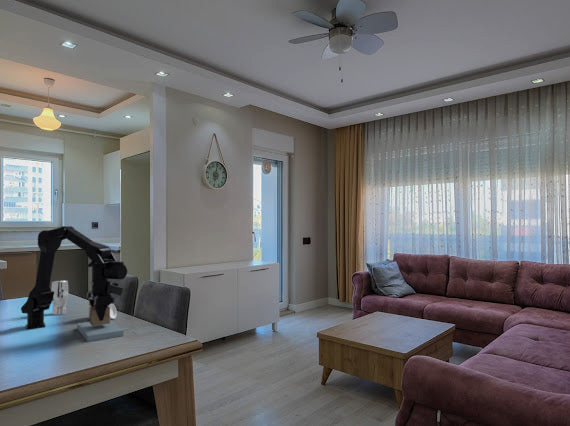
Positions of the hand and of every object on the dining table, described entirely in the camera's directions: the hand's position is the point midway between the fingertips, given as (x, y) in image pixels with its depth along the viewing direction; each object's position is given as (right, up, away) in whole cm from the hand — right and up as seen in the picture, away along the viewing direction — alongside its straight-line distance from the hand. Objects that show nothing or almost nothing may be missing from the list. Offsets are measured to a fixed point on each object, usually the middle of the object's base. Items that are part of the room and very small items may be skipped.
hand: (99, 319), depth 148 cm
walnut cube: (0, -2, 0) cm, 2 cm away
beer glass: (-34, -6, +32) cm, 47 cm away
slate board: (0, -5, 0) cm, 5 cm away
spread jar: (-9, -6, +22) cm, 24 cm away
